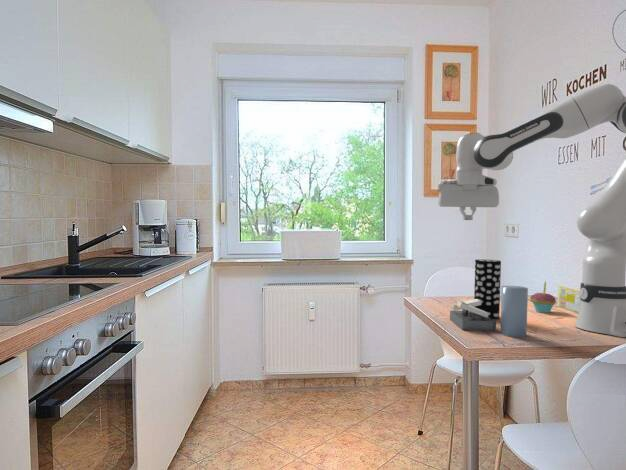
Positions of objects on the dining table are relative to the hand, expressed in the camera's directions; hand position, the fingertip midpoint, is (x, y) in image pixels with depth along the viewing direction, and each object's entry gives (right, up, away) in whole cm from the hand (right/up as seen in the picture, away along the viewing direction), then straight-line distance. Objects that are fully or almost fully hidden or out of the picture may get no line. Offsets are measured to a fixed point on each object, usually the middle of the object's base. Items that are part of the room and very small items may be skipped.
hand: (467, 220), depth 145 cm
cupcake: (+32, -34, +10) cm, 48 cm away
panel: (-3, -34, -12) cm, 37 cm away
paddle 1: (-4, -29, -8) cm, 30 cm away
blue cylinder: (+5, -35, -22) cm, 42 cm away
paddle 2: (-4, -29, -15) cm, 33 cm away
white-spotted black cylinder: (+7, -34, 0) cm, 35 cm away
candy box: (+45, -35, +14) cm, 59 cm away
